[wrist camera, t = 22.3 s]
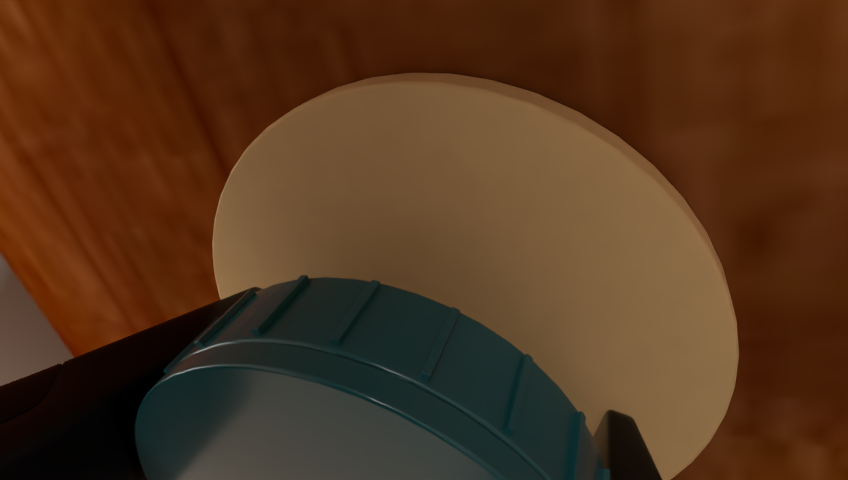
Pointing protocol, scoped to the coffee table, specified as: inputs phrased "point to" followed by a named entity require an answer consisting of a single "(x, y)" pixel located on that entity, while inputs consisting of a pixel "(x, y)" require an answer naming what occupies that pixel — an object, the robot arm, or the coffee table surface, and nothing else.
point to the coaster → (499, 239)
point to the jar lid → (357, 395)
